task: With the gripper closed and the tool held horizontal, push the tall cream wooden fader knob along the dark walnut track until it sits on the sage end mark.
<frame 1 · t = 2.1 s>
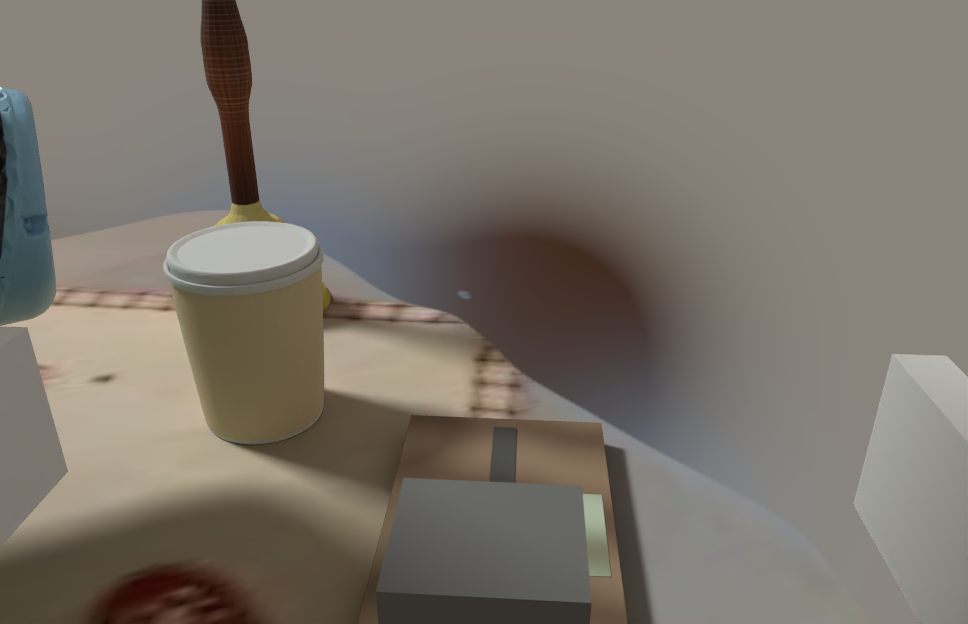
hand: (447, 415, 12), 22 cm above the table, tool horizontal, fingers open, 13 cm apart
coffee cup: (266, 413, 52), on the table
handbell: (259, 304, 68), on the table
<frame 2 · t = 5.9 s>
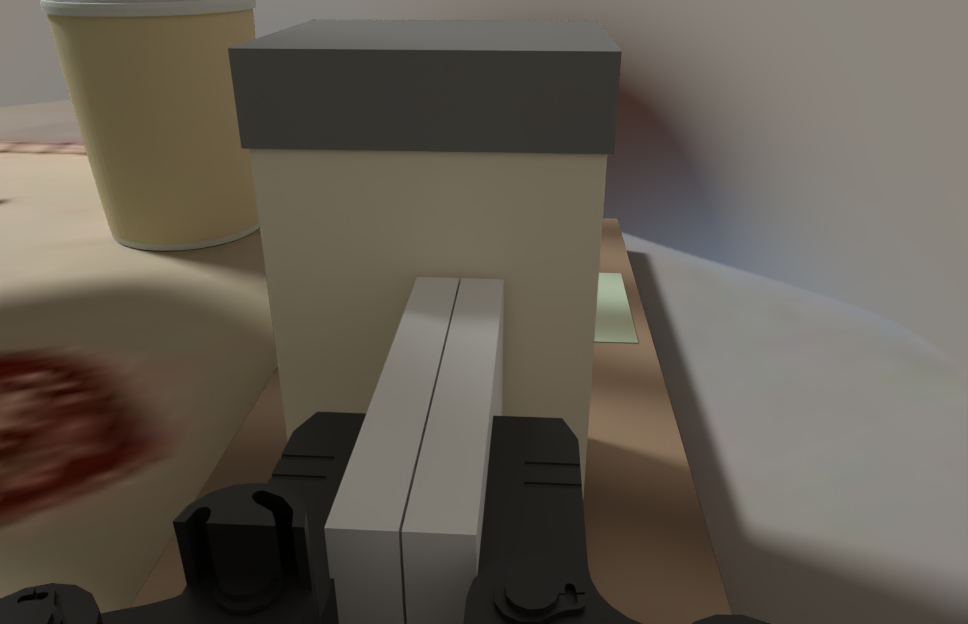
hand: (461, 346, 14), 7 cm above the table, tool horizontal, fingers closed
fader knob: (446, 279, 17), point 7 cm above the table, slide at 1.2 cm, touching gripper
fader track: (469, 408, 25), on the table
coffee cup: (191, 229, 41), on the table
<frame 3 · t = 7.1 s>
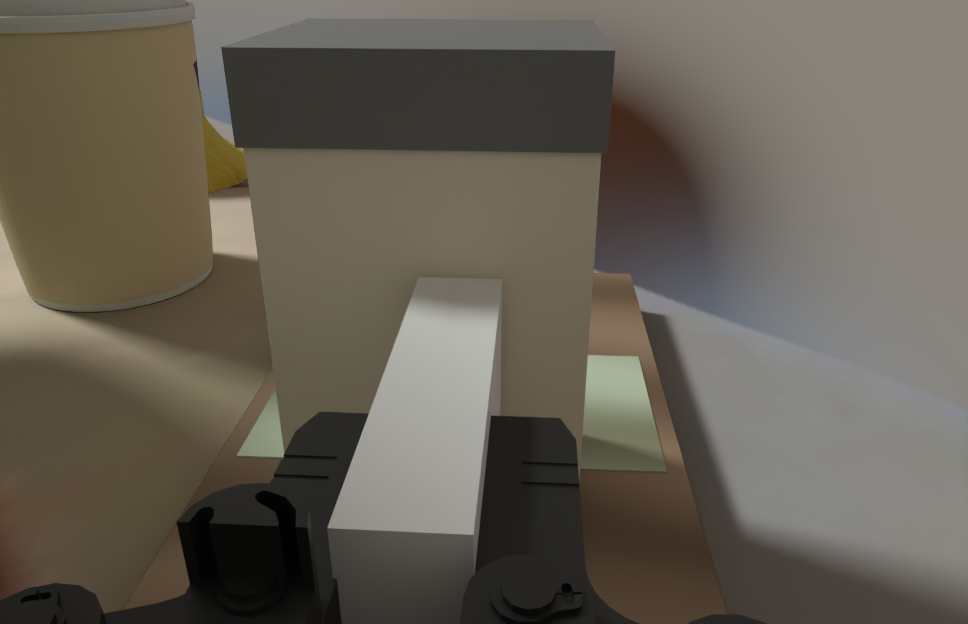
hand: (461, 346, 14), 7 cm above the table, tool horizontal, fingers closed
fader knob: (441, 278, 17), point 7 cm above the table, slide at 8.2 cm, touching gripper
fader track: (441, 566, 19), on the table
coffee cup: (125, 280, 35), on the table
handbell: (159, 177, 50), on the table
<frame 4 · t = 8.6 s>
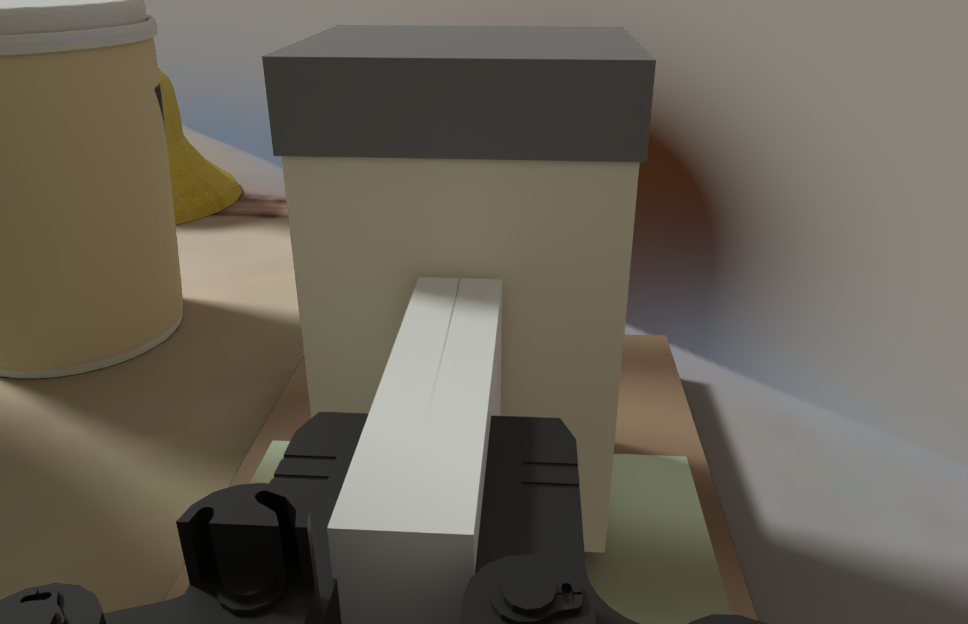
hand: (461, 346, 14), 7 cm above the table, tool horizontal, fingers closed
fader knob: (471, 284, 17), point 7 cm above the table, slide at 13.3 cm, touching gripper
coffee cup: (81, 334, 30), on the table
handbell: (134, 202, 46), on the table
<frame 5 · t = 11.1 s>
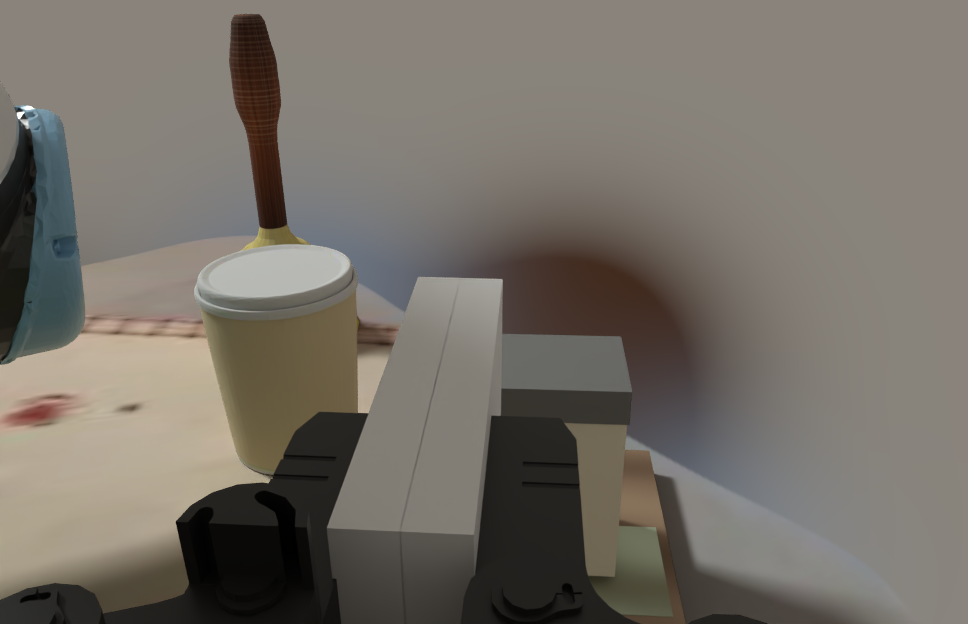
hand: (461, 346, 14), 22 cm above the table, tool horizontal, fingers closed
fader knob: (552, 454, 37), point 7 cm above the table, slide at 13.3 cm
coffee cup: (298, 443, 50), on the table
handbell: (286, 330, 66), on the table
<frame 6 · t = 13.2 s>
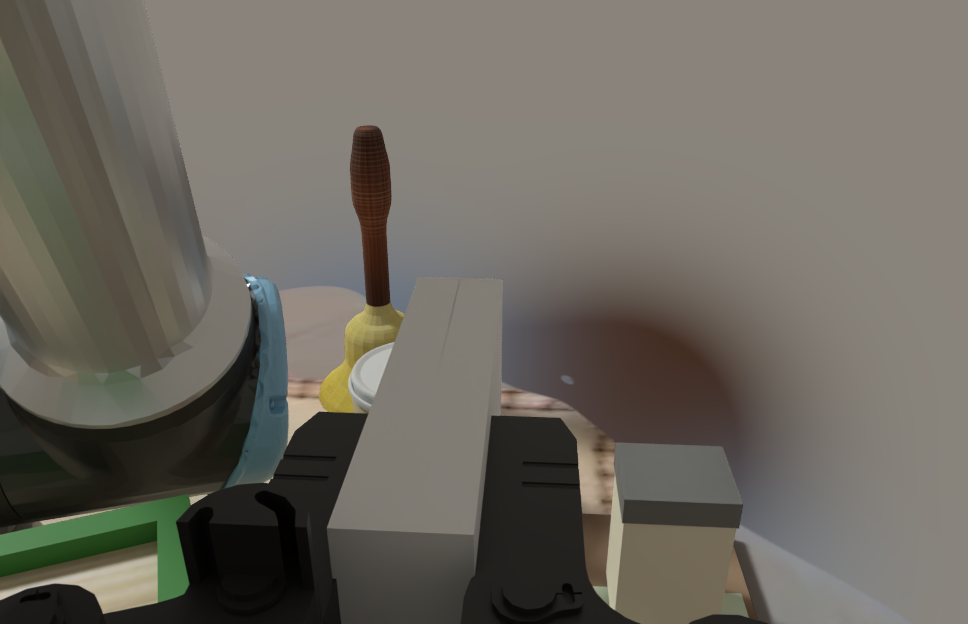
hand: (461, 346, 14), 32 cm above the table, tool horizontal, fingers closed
fader knob: (666, 541, 45), point 7 cm above the table, slide at 13.3 cm
coffee cup: (421, 507, 59), on the table
handbell: (384, 390, 75), on the table
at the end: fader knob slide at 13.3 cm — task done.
